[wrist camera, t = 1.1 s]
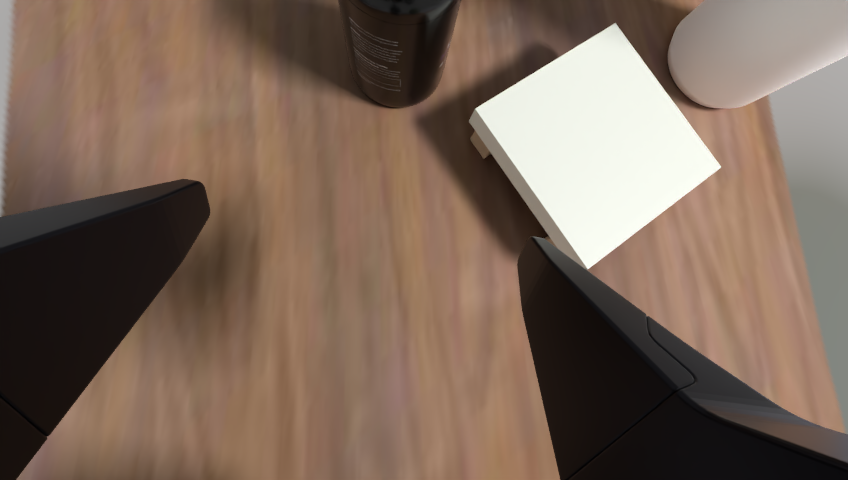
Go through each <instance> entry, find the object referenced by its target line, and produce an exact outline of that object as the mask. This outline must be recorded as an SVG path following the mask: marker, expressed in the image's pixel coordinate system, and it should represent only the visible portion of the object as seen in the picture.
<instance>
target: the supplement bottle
mask: <svg viewBox="0 0 848 480" xmlns="http://www.w3.org/2000/svg"><path fill="white" fill-rule="evenodd" d="M338 2H339V7H340V13H341V18H342V24H343V30H344V35H345V41H346V46H347V52H348V57H349V62H350V67H351V71H352V74H353V77H354V79H355V81H356V83H357V85H358V86H359V88H360V89H361V90H362V91H363V92H364V93H365V94H366V95H367V96H368V97H370V98H371V99H372V100H374V101H376V102H378V103H380V104H383V105H386V106H390V107H409V106H413V105H416V104H418V103H420V102H422V101H424V100H425V99H427V98H428V97H429V96H430V95H431V94H432V93H433V92H434V91H435V89H436V88H437V86H438V84H439V82H440V80H441V77H442V73H443V70H444V66H445V62H446V58H447V54H448V50H449V46H450V42H451V38H452V35H453V31H454V27H455V23H456V19H457V15H458V11H459V7H460V3H461V0H338Z"/></svg>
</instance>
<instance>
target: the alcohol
mask: <svg viewBox="0 0 848 480" xmlns="http://www.w3.org/2000/svg"><path fill="white" fill-rule="evenodd" d="M667 56H668V66H669V70H670V73H671V76H672V78H673V80H674V82H675V83H676V85H677V86H678V88H679V89H680V90H681V91H682V92H683V93H684V94H685V95H686V96H687V97H688V98H690V99H691V100H692V101H694V102H696V103H698V104H700V105H703V106H706V107H710V108H739V107H742V106H745V105H747V104H749V103H751V102H754V101H756V100H758V99H760V98H762V97H764V96H766V95H768V94H770V93H772V92H774V91H776V90H778V89H780V88H782V87H784V86H786V85H788V84H790V83H792V82H794V81H797V80H798V79H801V78H803V77H805V76H807V75H809V74H811V73H813V72H815V71H817V70H819V69H821V68H823V67H825V66H827V65H829V64H831V63H833V62H835V61H838V60H839V59H842V58H843V57H846V56H848V0H704V1H703V2H702V3H701V4H700V5H699V6H697V7H696V8H695V9H694V10H693V11H692V12H691V13H689V14H688V15H687V16H686V17H685V18H684V19H683V20H682V21H681V22H680V23H679V25H678V26H677V27H676V29H675V32H674V34H673V37H672V40H671V43H670V45H669V49H668V55H667Z"/></svg>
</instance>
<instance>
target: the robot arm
mask: <svg viewBox="0 0 848 480" xmlns="http://www.w3.org/2000/svg"><path fill="white" fill-rule="evenodd" d="M209 215H210V207H209V203H208V199H207V194H206V190H205V187H204V185H203V184H202V183H201V182H199V181H194V180H188V179H181V180H176V181H171V182H166V183H162V184H157V185H152V186H147V187H143V188H138V189H133V190H128V191H124V192H119V193H114V194H109V195H105V196H100V197H95V198H90V199H86V200H81V201H76V202H71V203H67V204H62V205H57V206H52V207H47V208H43V209H38V210H33V211H28V212H24V213H19V214H14V215H9V216H5V217H0V480H16V479H17V478H18V476H19V475H20V474H21V472H22V471H23V470H24V468H25V467H26V466H27V465H28V463H29V462H30V461H31V459H32V458H33V457H34V455H35V454H36V453H37V451H38V450H39V449H40V448H41V446H42V445H43V444H44V442H45V441H46V440H47V437H46V436H49V435H50V434H51V433H52V431H53V430H54V429H55V428H56V426H57V425H58V424H59V422H60V421H61V420H62V418H63V417H64V416H65V414H66V413H67V412H68V411H69V409H70V408H71V407H72V405H73V404H74V403H75V401H76V400H77V399H78V397H79V396H80V395H81V394H82V392H83V391H84V390H85V388H86V387H87V386H88V384H89V383H90V382H91V381H92V379H93V378H94V377H95V375H96V374H97V373H98V371H99V370H100V369H101V367H102V366H103V365H104V364H105V362H106V361H107V360H108V358H109V357H110V356H111V354H112V353H113V352H114V351H115V349H116V348H117V347H118V345H119V344H120V343H121V341H122V340H123V339H124V337H125V336H126V335H127V334H128V332H129V331H130V330H131V328H132V327H133V326H134V324H135V323H136V322H137V321H138V319H139V318H140V317H141V315H142V314H143V313H144V311H145V310H146V309H147V307H148V306H149V305H150V304H151V302H152V301H153V300H154V298H155V297H156V296H157V294H158V293H159V292H160V290H161V289H162V288H163V287H164V285H165V284H166V283H167V281H168V280H169V279H170V277H171V276H172V275H173V274H174V272H175V271H176V270H177V268H178V267H179V265H180V264H181V263H182V261H183V260H184V258H185V257H186V255H187V253H188V252H189V250H190V248H191V247H192V245H193V243H194V242H195V240H196V238H197V237H198V235H199V233H200V232H201V230H202V228H203V226H204V225H205V223H206V221H207V220H208V218H209ZM517 266H518V276H519V286H520V296H521V305H522V312H523V317H524V321H525V326H526V330H527V334H528V339H529V343H530V348H531V352H532V356H533V361H534V365H535V370H536V374H537V378H538V383H539V387H540V392H541V396H542V400H543V405H544V409H545V414H546V418H547V423H548V427H549V431H550V436H551V440H552V445H553V449H554V453H555V458H556V462H557V467H558V471H559V475H560V480H848V434H844V433H841V432H837V431H834V430H831V429H827V428H824V427H822V426H819V425H816V424H814V423H811V422H809V421H807V420H805V419H802V418H800V417H798V416H796V415H794V414H792V413H790V412H788V411H787V410H785V409H783V408H781V407H780V406H778V405H777V404H775V403H773V402H772V401H770V400H769V399H767V398H766V397H764V396H763V395H761V394H760V393H758V392H757V391H755V390H754V389H752V388H751V387H750V386H748V385H747V384H745V383H744V382H742V381H741V380H739V379H738V378H736V377H735V376H733V375H732V374H730V373H729V372H727V371H726V370H724V369H723V368H721V367H720V366H718V365H717V364H715V363H714V362H712V361H711V360H709V359H708V358H707V357H705V356H704V355H702V354H701V353H699V352H698V351H696V350H695V349H693V348H692V347H691V346H689V345H688V344H686V343H685V342H683V341H682V340H681V339H679V338H678V337H676V336H675V335H674V334H672V333H671V332H669V331H668V330H667V329H665V328H664V327H663V326H661V325H660V324H659V323H657V322H656V321H655V320H653V319H652V318H651V317H649V316H647V317H646V314H645V313H644V312H642V311H641V310H640V309H638V308H637V307H636V306H634V305H633V304H632V303H630V302H629V301H628V300H626V299H625V298H623V297H622V296H621V295H619V294H618V293H617V292H615V291H614V290H613V289H611V288H610V287H609V286H607V285H606V284H605V283H603V282H602V281H601V280H599V279H598V278H597V277H595V276H594V275H593V274H591V273H590V272H589V271H587V270H586V269H585V268H583V267H582V266H580V265H579V264H578V263H576V262H575V261H574V260H572V259H571V258H570V257H568V256H567V255H566V254H564V253H563V252H562V251H560V250H559V249H558V248H556V247H555V246H554V245H552V244H551V243H550V242H548V241H547V240H546V239H544V238H539V237H529V238H528V239H527V241H526V243H525V245H524V247H523V250H522V252H521V254H520V256H519V259H518V264H517Z"/></svg>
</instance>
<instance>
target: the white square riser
mask: <svg viewBox="0 0 848 480" xmlns="http://www.w3.org/2000/svg"><path fill="white" fill-rule="evenodd" d="M469 122H470V124H471V125H472V127H473V128H474V130H475V131H474V133H473V135H472V136H471V138H470V140H471V142H472V143H473V144H474V146H475V147H476V149H477V150H478V152H479V153H480V154H481V156H482V157H483V159H484V158H486V157H487V156H489V155H490V154H492V155H493V157H494V158H495V160H496V161H497V162H498V164H499V165H500V167H501V168H502V170H503V171H504V172H505V174H506V175H507V177H508V178H509V180H510V181H511V182H512V184H513V185H514V187H515V188H516V190H517V191H518V192H519V194H520V195H521V197H522V198H523V200H524V201H525V202H526V204H527V205H528V207H529V208H530V210H531V211H532V212H533V214H534V215H535V217H536V218H537V220H538V221H539V222H540V224H541V225H542V227H543V228H544V230H545V231H546V232H547V234H548V235H549V236H547V237H546V238H545V239H546V240H547V241H548V242H550V243H551V244H552V245H554V246H555V247H556V248H558V249H559V250H560V251H562V252H563V253H564V254H566V255H567V256H568V257H570V258H571V259H572V260H574V261H575V262H576V263H578V264H579V265H580V266H582V267H583V268H585V269H589V268H590V267H591V266H593V265H594V264H595V263H597V262H598V261H599V260H601V259H602V258H603V257H604V256H606V255H607V254H608V253H610V252H611V251H612V250H614V249H615V248H616V247H618V246H619V245H620V244H621V243H623V242H624V241H625V240H627V239H628V238H629V237H631V236H632V235H633V234H635V233H636V232H637V231H639V230H640V229H641V228H642V227H644V226H645V225H646V224H648V223H649V222H650V221H652V220H653V219H654V218H656V217H657V216H658V215H659V214H661V213H662V212H663V211H665V210H666V209H667V208H669V207H670V206H671V205H673V204H674V203H675V202H676V201H678V200H679V199H680V198H682V197H683V196H684V195H686V194H687V193H688V192H690V191H691V190H692V189H693V188H695V187H696V186H697V185H699V184H700V183H701V182H703V181H704V180H705V179H707V178H708V177H709V176H710V175H712V174H713V173H714V172H716V171H717V170H718V169H720V168H721V166H720V165H719V163H718V162H717V161H716V159H715V158H714V157H713V155H712V154H711V153H710V151H709V150H708V148H707V147H706V146H705V144H704V143H703V142H702V140H701V139H700V138H699V136H698V135H697V134H696V132H695V131H694V129H693V128H692V127H691V125H690V124H689V123H688V121H687V120H686V119H685V117H684V116H683V114H682V113H681V112H680V110H679V109H678V108H677V106H676V105H675V104H674V102H673V101H672V99H671V98H670V97H669V95H668V94H667V93H666V91H665V90H664V89H663V87H662V86H661V84H660V83H659V82H658V80H657V79H656V78H655V76H654V75H653V74H652V72H651V71H650V70H649V68H648V67H647V65H646V64H645V63H644V61H643V60H642V59H641V57H640V56H639V55H638V53H637V52H636V50H635V49H634V48H633V46H632V45H631V44H630V42H629V41H628V40H627V38H626V37H625V35H624V34H623V33H622V31H621V30H620V29H619V27H618V26H617V25H616V23H615V24H613V25H611V26H610V27H608V28H606V29H605V30H603V31H601V32H600V33H598V34H597V35H595V36H593V37H592V38H590V39H588V40H587V41H585V42H583V43H582V44H580V45H579V46H577V47H575V48H574V49H572V50H570V51H569V52H567V53H565V54H564V55H562V56H560V57H559V58H557V59H556V60H554V61H552V62H551V63H549V64H547V65H546V66H544V67H542V68H541V69H539V70H538V71H536V72H534V73H533V74H531V75H529V76H528V77H526V78H524V79H523V80H521V81H519V82H518V83H516V84H515V85H513V86H511V87H510V88H508V89H506V90H505V91H503V92H501V93H500V94H498V95H497V96H495V97H493V98H492V99H490V100H488V101H487V102H485V103H483V104H482V105H480V106H479V107H477V108H475V110H474V112H473V114H472V116H471V118H470V120H469Z"/></svg>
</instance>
